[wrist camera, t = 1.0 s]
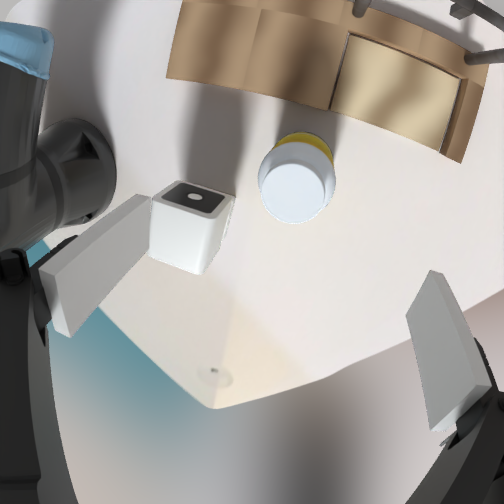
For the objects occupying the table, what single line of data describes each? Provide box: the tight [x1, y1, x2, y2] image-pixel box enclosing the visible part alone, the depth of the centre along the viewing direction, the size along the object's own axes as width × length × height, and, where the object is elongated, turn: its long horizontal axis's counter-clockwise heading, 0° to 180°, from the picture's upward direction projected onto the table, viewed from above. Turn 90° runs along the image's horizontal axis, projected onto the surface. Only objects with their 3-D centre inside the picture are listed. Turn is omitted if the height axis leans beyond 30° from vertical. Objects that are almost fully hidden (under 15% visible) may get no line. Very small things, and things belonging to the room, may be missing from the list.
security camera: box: [147, 181, 236, 275], centre depth 33 cm, size 6×7×10 cm
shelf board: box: [166, 0, 504, 164], centre depth 19 cm, size 32×12×16 cm, turn 78°
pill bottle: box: [258, 132, 336, 224], centre depth 27 cm, size 6×6×12 cm
